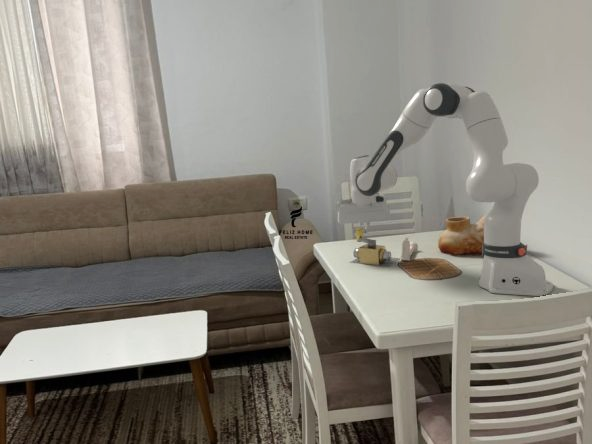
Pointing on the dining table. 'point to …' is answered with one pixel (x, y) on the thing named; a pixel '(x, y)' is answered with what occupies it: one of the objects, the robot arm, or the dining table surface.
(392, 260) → the valve base plate
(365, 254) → the valve body
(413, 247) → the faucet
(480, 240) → the ceramic vessel
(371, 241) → the valve lever
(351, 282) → the dining table surface
